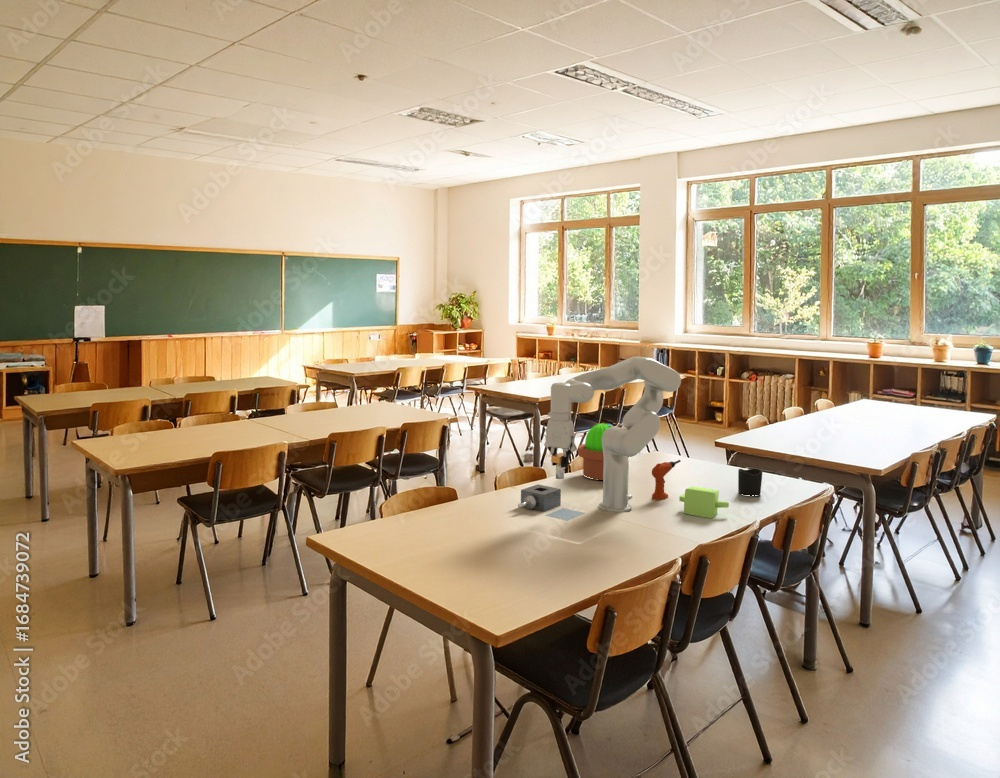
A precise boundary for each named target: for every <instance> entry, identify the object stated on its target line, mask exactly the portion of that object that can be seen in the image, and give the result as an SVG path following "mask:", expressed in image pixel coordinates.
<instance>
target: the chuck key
mask: <svg viewBox="0 0 1000 778" xmlns="http://www.w3.org/2000/svg"><path fill="white" fill-rule="evenodd" d="M562 457H563V452H559V453H558V452H557V454H555V455H550V458H551V459H550V462H551V463H552V462H553V463H556V465H555V479H557V480H564V479H565V467H562ZM569 461H570V458H569V459H568V462H569Z"/></svg>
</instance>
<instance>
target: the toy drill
mask: <svg viewBox="0 0 1000 778" xmlns="http://www.w3.org/2000/svg"><path fill="white" fill-rule="evenodd" d="M680 462H682V460H681V459H678V460H676V461H669V462H668V461H667V462H666V461H665V462H662V463H657V464H656V465H655V466H654V467H652V470H651V475H652V477H653V478H654V480H655V488H654V492H653V493H652V495H651V500H654V499H655V500H654V501H663V500H667V499H668V498H669V495H668V493H666V492H665V483H666V480H665V478H664V477H665V476H666V475H667V474H668V473H669V472H670V471H671V470H672V469H673V468H675V467H676V465H677V464H679V463H680ZM666 498H667V499H666ZM662 499H663V500H662Z"/></svg>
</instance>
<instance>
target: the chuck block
mask: <svg viewBox="0 0 1000 778" xmlns="http://www.w3.org/2000/svg"><path fill="white" fill-rule="evenodd" d="M561 495H562V489H561V488H557V487H553V486H549V485H543V484H539V483H538V484H535V485H531V486H529V487H525V488H522V489H520V503H518V504H517V507H518V508H519V509H520V508H525V509H526V508H527V509H528V510H535V511H539V512H543V513H544V512H547V511H550V510H552V509H554V508H557V507H560V506H561V504H562V503H561V502H562V501H561V499H562V498H561V497H562V496H561Z"/></svg>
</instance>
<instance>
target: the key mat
mask: <svg viewBox="0 0 1000 778" xmlns="http://www.w3.org/2000/svg"><path fill="white" fill-rule="evenodd" d="M585 514H586V512H581V511H578V510H574V509H573V510H572V509H568V508H560V509H557V510H555V511H551V512H550V513H547V514H545V516H546V517H550V518H554V519H559V520H563V521H570V520H573V519H574V518H578V517H579V516H582V515H585Z"/></svg>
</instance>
